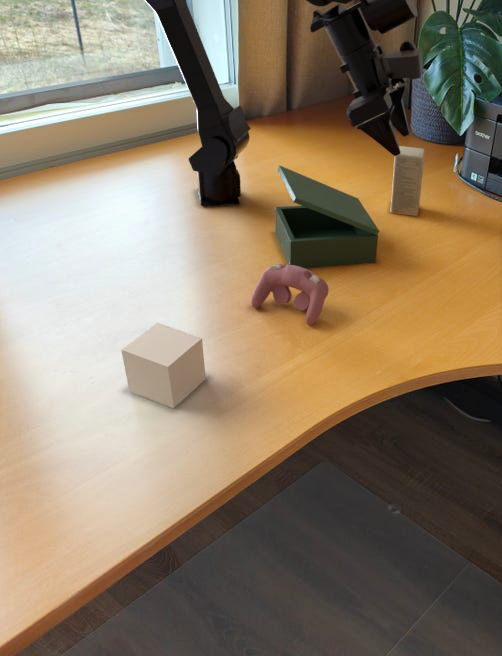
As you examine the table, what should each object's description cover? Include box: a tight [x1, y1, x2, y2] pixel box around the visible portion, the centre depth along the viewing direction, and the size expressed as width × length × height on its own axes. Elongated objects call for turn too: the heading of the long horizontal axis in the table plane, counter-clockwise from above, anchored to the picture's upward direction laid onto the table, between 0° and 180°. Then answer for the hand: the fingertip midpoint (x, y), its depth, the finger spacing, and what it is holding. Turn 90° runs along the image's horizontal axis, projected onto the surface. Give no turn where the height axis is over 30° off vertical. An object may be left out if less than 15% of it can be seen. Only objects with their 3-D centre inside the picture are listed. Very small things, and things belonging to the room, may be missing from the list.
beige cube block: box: [120, 322, 207, 409], centre depth 75 cm, size 6×6×6 cm
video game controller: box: [250, 263, 330, 326], centre depth 90 cm, size 10×5×7 cm, turn 71°
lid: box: [277, 165, 381, 236], centre depth 101 cm, size 14×12×1 cm
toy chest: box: [274, 205, 379, 270], centre depth 105 cm, size 14×12×5 cm
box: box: [389, 145, 426, 217], centre depth 118 cm, size 5×4×11 cm
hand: (402, 144), depth 105 cm, fingers open, 9 cm apart
